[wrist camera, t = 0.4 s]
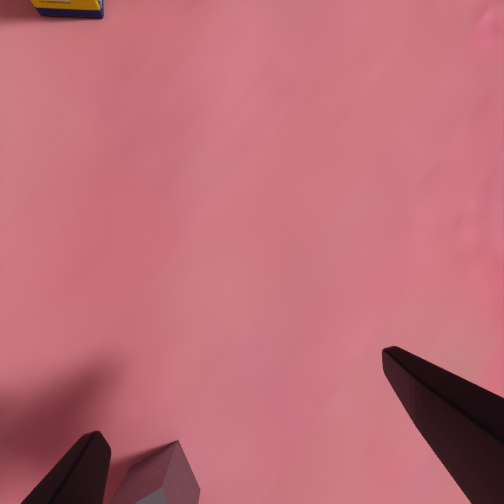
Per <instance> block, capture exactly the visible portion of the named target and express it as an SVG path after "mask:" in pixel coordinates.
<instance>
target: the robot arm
mask: <svg viewBox="0 0 504 504" xmlns="http://www.w3.org/2000/svg"><path fill="white" fill-rule="evenodd" d="M382 362H383V371H384V373H385V376H386V377H387V379H388V381H389V383H390V384H391V386H392V388H393V389H394V391H395V393H396V394H397V396H398V398H399V399H400V401H401V403H402V404H403V406H404V408H405V409H406V411H407V413H408V414H409V416H410V418H411V419H412V421H413V423H414V424H415V426H416V427H417V429H418V430H419V432H420V433H421V434H422V436H423V437H424V439H425V440H426V441H427V443H428V444H429V446H430V447H431V448H432V450H433V451H434V452H435V454H436V455H437V457H438V458H439V459H440V461H441V462H442V463H443V465H444V466H445V468H446V469H447V470H448V472H449V473H450V475H451V476H452V477H453V479H454V480H455V481H456V483H457V484H458V486H459V487H460V488H461V490H462V491H463V492H464V494H465V495H466V497H467V498H468V499H469V501H470V502H471V504H504V398H503V397H501V396H498V395H496V394H494V393H492V392H490V391H488V390H486V389H484V388H482V387H480V386H478V385H476V384H474V383H472V382H470V381H468V380H465V379H463V378H461V377H459V376H457V375H455V374H453V373H451V372H449V371H447V370H445V369H443V368H441V367H439V366H437V365H434V364H432V363H430V362H428V361H426V360H424V359H422V358H420V357H418V356H416V355H414V354H412V353H410V352H408V351H406V350H404V349H401V348H399V347H397V346H391V347H388V348H384V349H383V350H382ZM110 459H111V448H110V446H109V444H108V443H107V441H106V440H105V438H104V437H103V435H102V433H101V432H100V431H93V432H90V433H86V434H84V435H83V436H82V437H81V438H80V439H79V440H78V441H77V442H76V443H75V444H74V445H73V446H72V447H71V449H70V450H69V451H68V452H67V453H66V454H65V455H64V456H63V457H62V458H61V460H60V461H59V462H58V463H57V464H56V465H55V466H54V467H53V468H52V469H51V471H50V472H49V473H48V474H47V475H46V476H45V477H44V478H43V479H42V480H41V482H40V483H39V484H38V485H37V486H36V487H35V488H34V489H33V490H32V491H31V493H30V494H29V495H28V496H27V497H26V498H25V499H24V500H23V501H22V503H21V504H103V499H104V493H105V487H106V482H107V476H108V471H109V465H110Z"/></svg>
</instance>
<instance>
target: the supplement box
mask: <svg viewBox="0 0 504 504" xmlns="http://www.w3.org/2000/svg"><path fill="white" fill-rule="evenodd" d="M30 1H31V2H32V3H33V5H34V6H35V8H36V9H37V11H38V12H39V14H40V15H49V16H75V17H98V18H103V16H104V13H103V0H30Z"/></svg>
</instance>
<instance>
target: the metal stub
mask: <svg viewBox="0 0 504 504" xmlns="http://www.w3.org/2000/svg"><path fill="white" fill-rule="evenodd" d="M199 495H200V488H199V485H198V483H197V481H196V479H195V476H194V474H193V472H192V470H191V467H190V465H189V463H188V461H187V458H186V456H185V454H184V452H183V449H182V447H181V445H180V443H179V440H177V441H176V442H174V443H172V444H170V445H169V446H167V447H165V448H163V449H162V450H160V451H158V452H156V453H155V454H153V455H151V456H149V457H148V458H146V459H144V460H142V461H141V462H139V463H137V464H135V465H134V466H132V467H130V468H129V470H128V472H127V474H126V475H125V477H124V479H123V481H122V482H121V484H120V486H119V488H118V489H117V491H116V493H115V495H114V496H113V498H112V500H111V502H110V503H109V504H198V501H199Z"/></svg>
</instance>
